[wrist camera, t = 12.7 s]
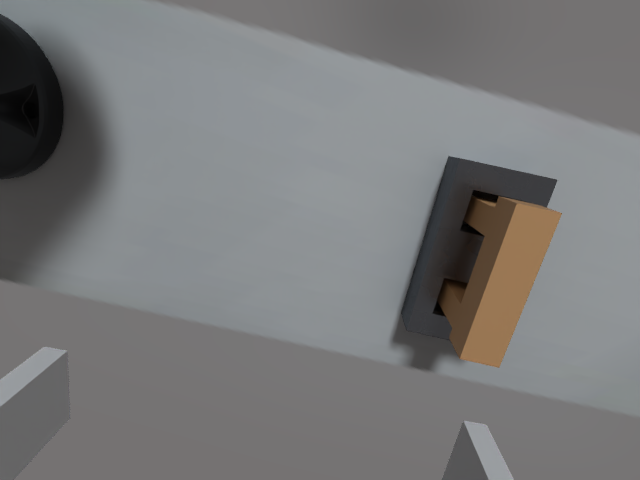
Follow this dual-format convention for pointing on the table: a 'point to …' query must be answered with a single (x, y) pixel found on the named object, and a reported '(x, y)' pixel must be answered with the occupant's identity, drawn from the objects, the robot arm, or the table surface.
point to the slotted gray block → (459, 236)
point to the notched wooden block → (497, 276)
